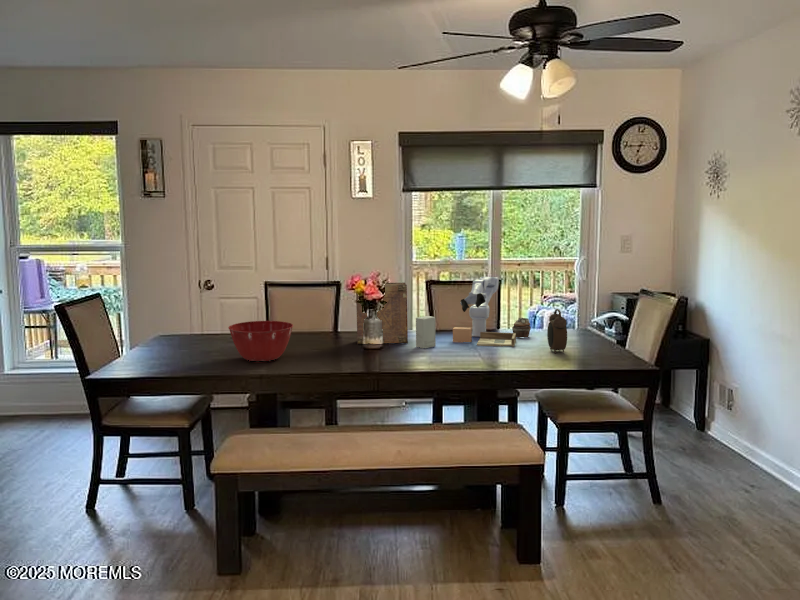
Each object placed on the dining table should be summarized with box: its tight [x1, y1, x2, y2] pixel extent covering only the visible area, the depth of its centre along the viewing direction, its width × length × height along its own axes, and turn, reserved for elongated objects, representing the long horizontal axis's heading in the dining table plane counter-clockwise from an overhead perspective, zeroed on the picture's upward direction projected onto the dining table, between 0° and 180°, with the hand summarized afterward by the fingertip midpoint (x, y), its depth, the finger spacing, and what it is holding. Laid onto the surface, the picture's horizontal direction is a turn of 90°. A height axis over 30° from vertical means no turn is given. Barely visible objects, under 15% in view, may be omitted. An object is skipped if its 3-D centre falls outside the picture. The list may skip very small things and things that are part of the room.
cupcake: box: [511, 317, 532, 338], centre depth 338 cm, size 10×10×10 cm
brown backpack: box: [547, 308, 568, 354], centre depth 298 cm, size 14×7×20 cm, turn 1°
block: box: [452, 326, 473, 343], centre depth 327 cm, size 4×9×7 cm, turn 76°
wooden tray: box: [476, 331, 517, 348], centre depth 322 cm, size 16×18×4 cm
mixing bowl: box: [228, 320, 294, 362], centre depth 290 cm, size 28×28×16 cm
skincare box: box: [415, 315, 437, 349], centre depth 313 cm, size 8×6×15 cm
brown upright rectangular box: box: [355, 282, 409, 345], centre depth 325 cm, size 25×9×30 cm, turn 94°
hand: (470, 308), depth 321 cm, fingers open, 7 cm apart
